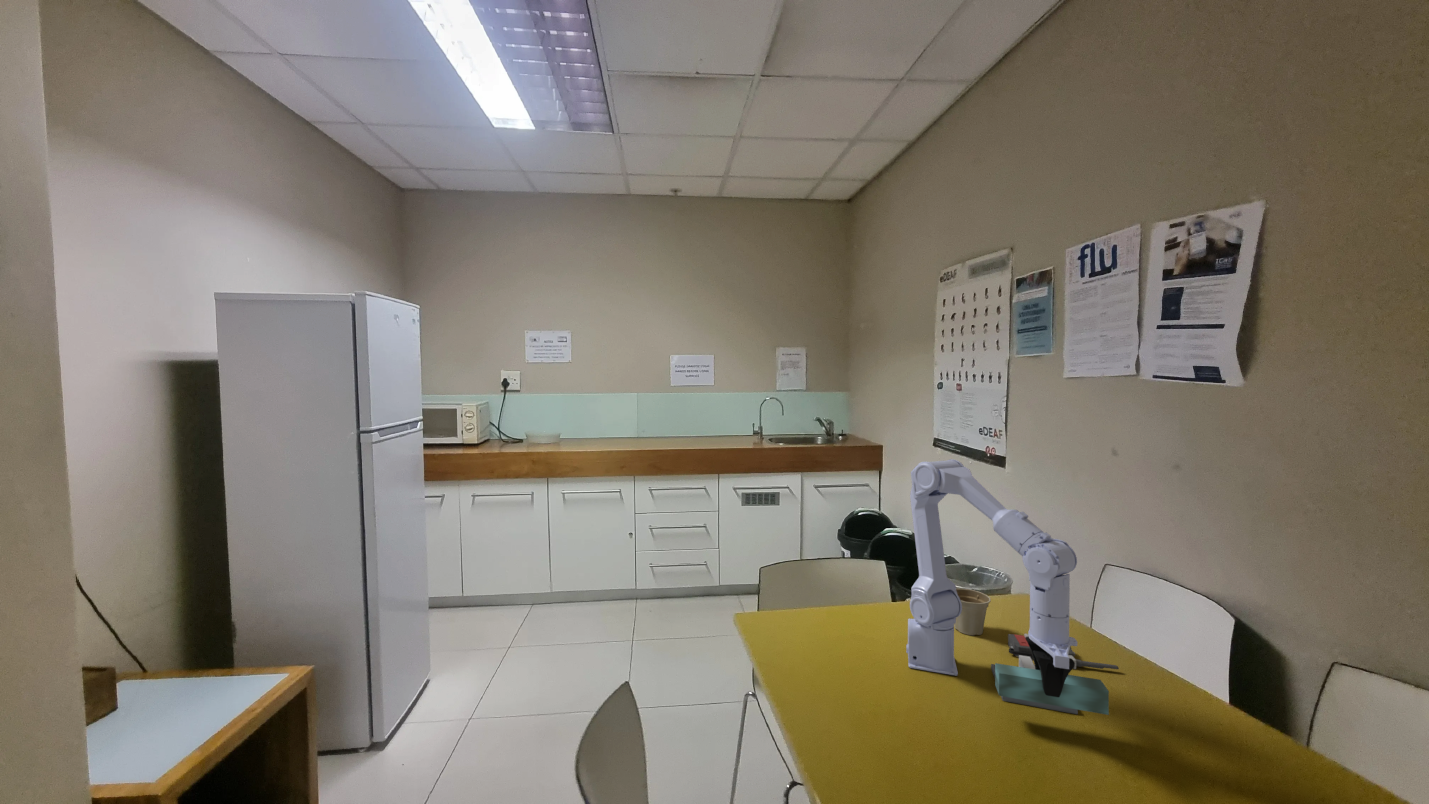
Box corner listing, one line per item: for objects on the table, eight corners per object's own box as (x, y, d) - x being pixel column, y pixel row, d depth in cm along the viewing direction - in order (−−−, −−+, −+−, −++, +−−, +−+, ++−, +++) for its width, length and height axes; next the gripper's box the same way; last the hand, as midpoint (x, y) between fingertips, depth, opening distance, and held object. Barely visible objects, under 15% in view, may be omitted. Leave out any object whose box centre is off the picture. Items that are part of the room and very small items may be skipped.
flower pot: (984, 623, 127) (984, 590, 127) (996, 641, 118) (996, 604, 118) (944, 620, 129) (944, 586, 129) (952, 637, 120) (953, 601, 120)
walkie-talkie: (1012, 662, 109) (1121, 677, 103) (1012, 642, 109) (1121, 656, 103) (1001, 643, 117) (1101, 656, 112) (1001, 625, 117) (1101, 636, 112)
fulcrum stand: (1002, 700, 95) (1002, 679, 95) (991, 668, 106) (991, 649, 106) (1077, 714, 90) (1077, 692, 90) (1057, 679, 102) (1057, 659, 102)
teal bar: (999, 695, 88) (999, 673, 88) (995, 684, 91) (995, 663, 91) (1108, 714, 83) (1108, 690, 83) (1100, 702, 86) (1100, 679, 86)
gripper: (1092, 633, 79) (1091, 718, 79) (1063, 598, 92) (1062, 671, 92) (1040, 626, 81) (1039, 709, 81) (1019, 593, 95) (1018, 664, 95)
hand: (1048, 688), depth 87 cm, fingers closed on teal bar, 3 cm apart
